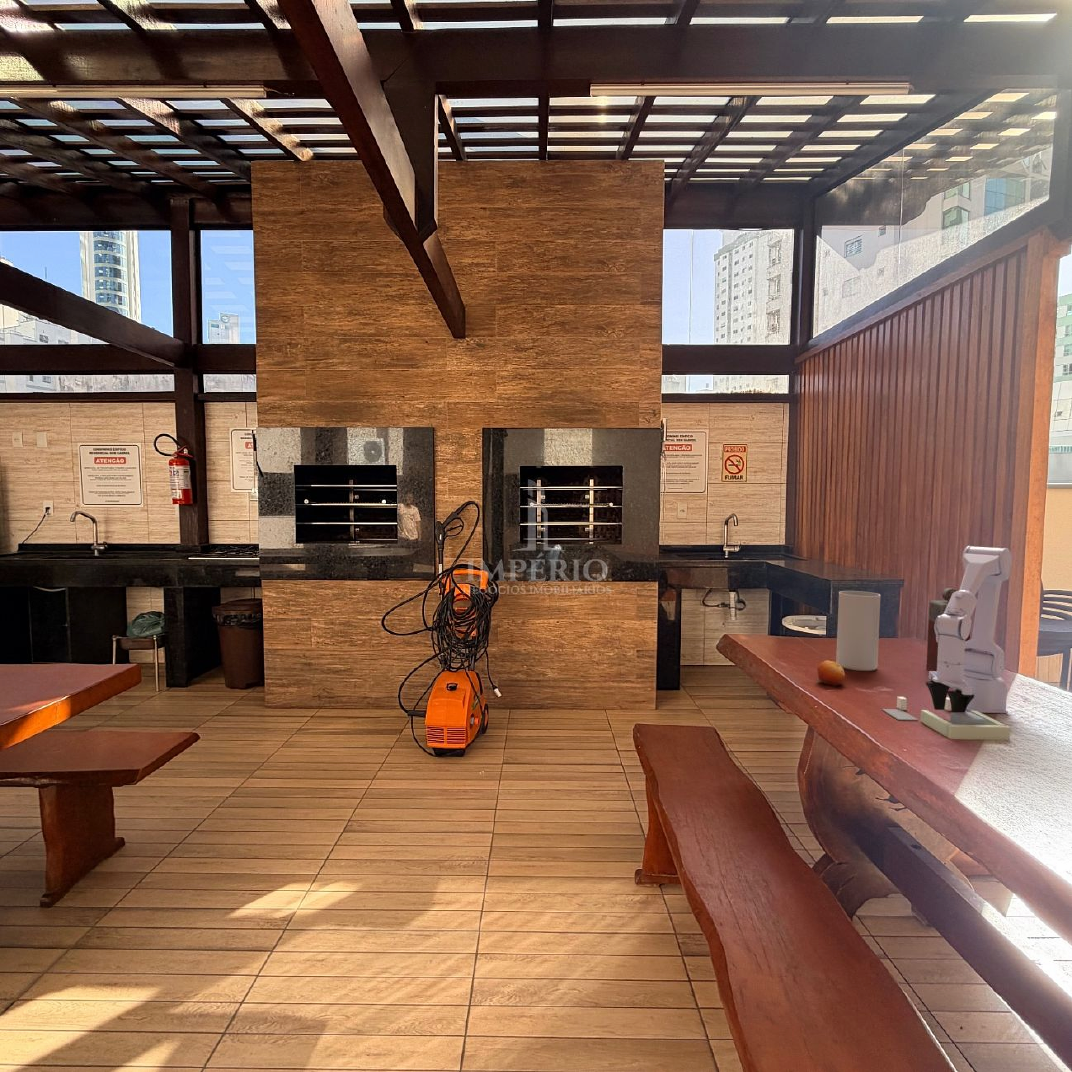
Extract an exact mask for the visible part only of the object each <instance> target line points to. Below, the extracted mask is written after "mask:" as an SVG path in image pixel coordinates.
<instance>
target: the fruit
mask: <svg viewBox="0 0 1072 1072" xmlns="http://www.w3.org/2000/svg"><path fill="white" fill-rule="evenodd" d="M816 669H817V670H816V671H817V677H818V681H817V684H818V683H824V684H826V685H829V686H833V687H836V686H839V685H840V684H842V683H843V682H844V681H845V679H846V673H845V670H844V669H845V668H843V667H841V666H840V665H839V664H837V663H836V661H831V660H827V659H825V660H824V661H822V662H820V663H819V665H818V667H817V668H816Z"/></svg>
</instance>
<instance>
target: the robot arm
mask: <svg viewBox="0 0 1072 1072" xmlns="http://www.w3.org/2000/svg"><path fill="white" fill-rule="evenodd" d="M961 561H962V566H963V569H964V574H963V577H962V580H961V583H960V586H959V590H957V591H956V592H954V593H953V594H952V596H951V598H950V600H949V603H948V605H947V607H946V609H945V612H944V614H942V615H939V616H938V617H937V618H936V621H935V625H934V629H935V633H936V642H938V658H937V671H928V679H929V680H926V681H925V685H926V686H927V688H928V691H929V693H930V696H931V700H932V704H933V708H934V710H935V711H944V710H945V709H944V708H945V702H946V697H947V696H948V697H949V699H950V702H951V711H950V713H951V712H965V711H966V710H970V711H978V712H980V713H982V714H987V713H990V714H991V713H993V714H996V713H997V714H1008V712H1009V711H1008V710H1007V698H1008V697H1007V693H1008V688H1007V684H1006V682H1005V680H1004V679H1003V678H1002V676H1003V674H1004V673H1005V668H1006V662H1005V655H1006V654H1005V651H1004V649H1002V648H1001V647H1000V646H999V645H998V644H996V643H995V641H994V639H995V633H996V632H995V631H996V624H997V617H998V611H999V610H998V609H999V602H1000V596H1001V589H1002V584H1003V582H1004V581H1007V580H1009V579H1010V575H1011V571H1012V565H1013V564H1012V563H1013V557H1012V552H1011V551H1010V549H1009V548H1007V547H1003V548H1000V547H985V546H972V545H967V546H966V547H965V548H964V550H963V553H962V560H961ZM976 594H977V597H976ZM974 611H975V615H974V620H972V616H973V613H974ZM972 621H973V628H972V635H971V629H970V628H971V627H972ZM969 634H970V635H971V636H972V637H971V638H970V640H968V641H966V642H965V639H967V638H968V636H969ZM977 650H978V651H977ZM986 652H990V653H986ZM963 675H964V677H963ZM950 688H951V689H954V690H950Z"/></svg>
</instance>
